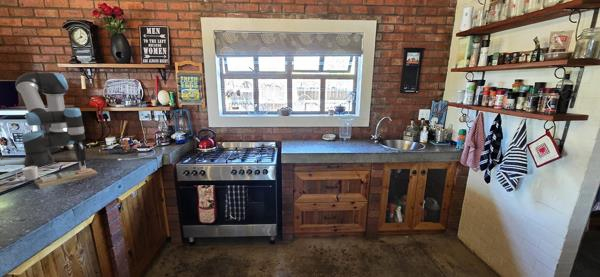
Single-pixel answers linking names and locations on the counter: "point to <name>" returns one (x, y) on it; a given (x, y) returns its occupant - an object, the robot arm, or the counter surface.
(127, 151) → the figurine
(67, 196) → the counter surface
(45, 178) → the tile
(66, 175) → the tile
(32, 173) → the cup
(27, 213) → the counter surface
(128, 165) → the counter surface
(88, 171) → the tile
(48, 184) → the board
